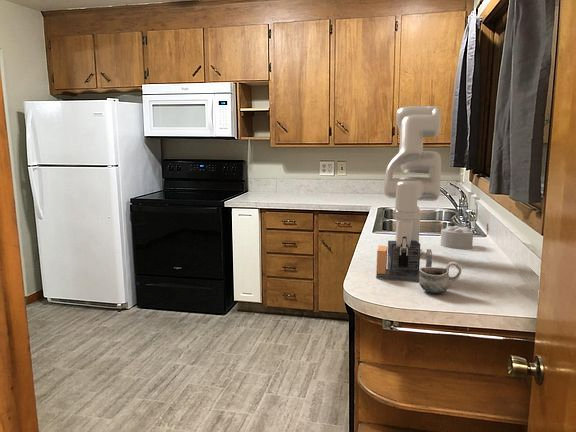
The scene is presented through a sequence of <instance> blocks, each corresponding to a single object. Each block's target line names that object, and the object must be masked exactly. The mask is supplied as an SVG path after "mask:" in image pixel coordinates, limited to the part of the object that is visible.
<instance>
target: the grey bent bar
mask: <svg viewBox="0 0 576 432" xmlns="http://www.w3.org/2000/svg"><path fill="white" fill-rule="evenodd" d="M432 252H433V251H432V249H429V248H426V255H425V267H433V264H432V263H433V253H432ZM375 278H376V279H378V280H389V281H391V280H392V281H405V282H417V283H418V282H419V278H420V272H419V271H412V270H398V269H388V268H386V273H385V274H378V273H376V275H375Z"/></svg>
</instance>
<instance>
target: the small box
mask: <svg viewBox="0 0 576 432" xmlns="http://www.w3.org/2000/svg"><path fill="white" fill-rule="evenodd" d="M401 247H402V243H401ZM406 247H407V246H406ZM420 249H421V243H420V241H419V242H417V241H411V244H410V248H409V249H408V267H400V266H399V255H400V247H398V248H397V247H396V241H395V240H388V241H387V268H386V269H398V270H412V271H419V269H420V262H421V254H420Z"/></svg>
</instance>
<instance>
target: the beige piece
mask: <svg viewBox="0 0 576 432" xmlns="http://www.w3.org/2000/svg"><path fill="white" fill-rule="evenodd" d="M473 240H474V231H473V230H472V229H470V228H469V227H467V226H460V225H454V226H452V225H448V226H447V227H446V228H442V229H441V231H440V246H441V247H443V248H446V249H448V248H449V249H452V250H453V249H456V250H472V249H473V242H474V241H473Z"/></svg>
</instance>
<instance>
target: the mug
mask: <svg viewBox="0 0 576 432" xmlns="http://www.w3.org/2000/svg"><path fill="white" fill-rule="evenodd" d="M451 266H454V267H456V268H457V270H458V272H457V274H456V275H455V276H452V277H451V276H449V273H450V268H451ZM419 272H420V278H419V286H420V288H422V290H424V291H425V292H427V293H431V294H443V293H444V292H446V291H447V290H448V289H449V288H450V286H451V283H453V282H455V281H456V280H458V278H459V277H460V276H461V274H462V267H461V265H460V264H459V263H458V262H456V261H449V262H448V263H447V265H446V267H439V266H438V267H437V266H436V267H434V266H432V267H426V266H424V267H419Z"/></svg>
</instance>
